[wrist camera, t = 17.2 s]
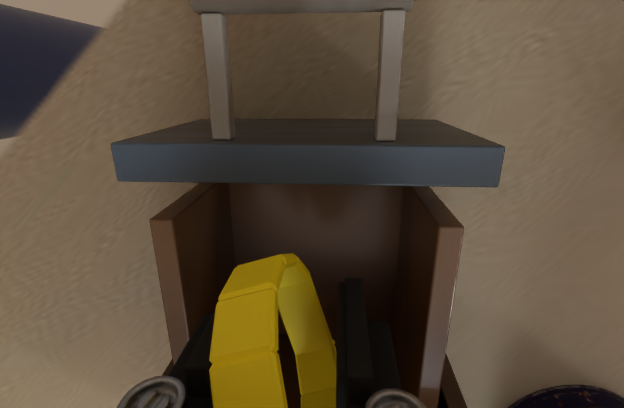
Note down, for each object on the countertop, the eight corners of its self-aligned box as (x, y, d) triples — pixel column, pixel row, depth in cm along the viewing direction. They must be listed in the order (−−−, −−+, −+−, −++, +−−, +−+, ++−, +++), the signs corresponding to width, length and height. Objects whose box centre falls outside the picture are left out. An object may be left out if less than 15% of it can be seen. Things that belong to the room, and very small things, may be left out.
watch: (365, 368, 13) (388, 600, 7) (292, 382, 13) (257, 612, 7) (313, 216, 11) (287, 365, 5) (230, 239, 11) (123, 399, 6)
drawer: (188, 6, 16) (71, -53, 9) (449, 1, 15) (544, -68, 8) (222, 329, 21) (167, 446, 15) (413, 338, 21) (450, 465, 14)
